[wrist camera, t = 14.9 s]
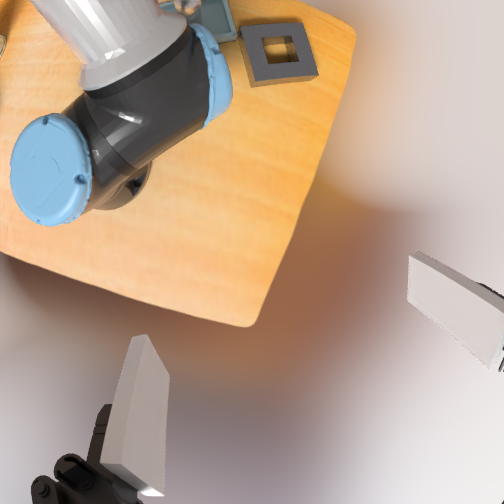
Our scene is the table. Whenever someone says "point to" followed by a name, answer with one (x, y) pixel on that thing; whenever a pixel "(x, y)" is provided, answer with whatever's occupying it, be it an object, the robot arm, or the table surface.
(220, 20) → the tray
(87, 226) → the table surface
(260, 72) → the block
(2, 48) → the coffee can
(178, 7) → the pin
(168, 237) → the table surface
